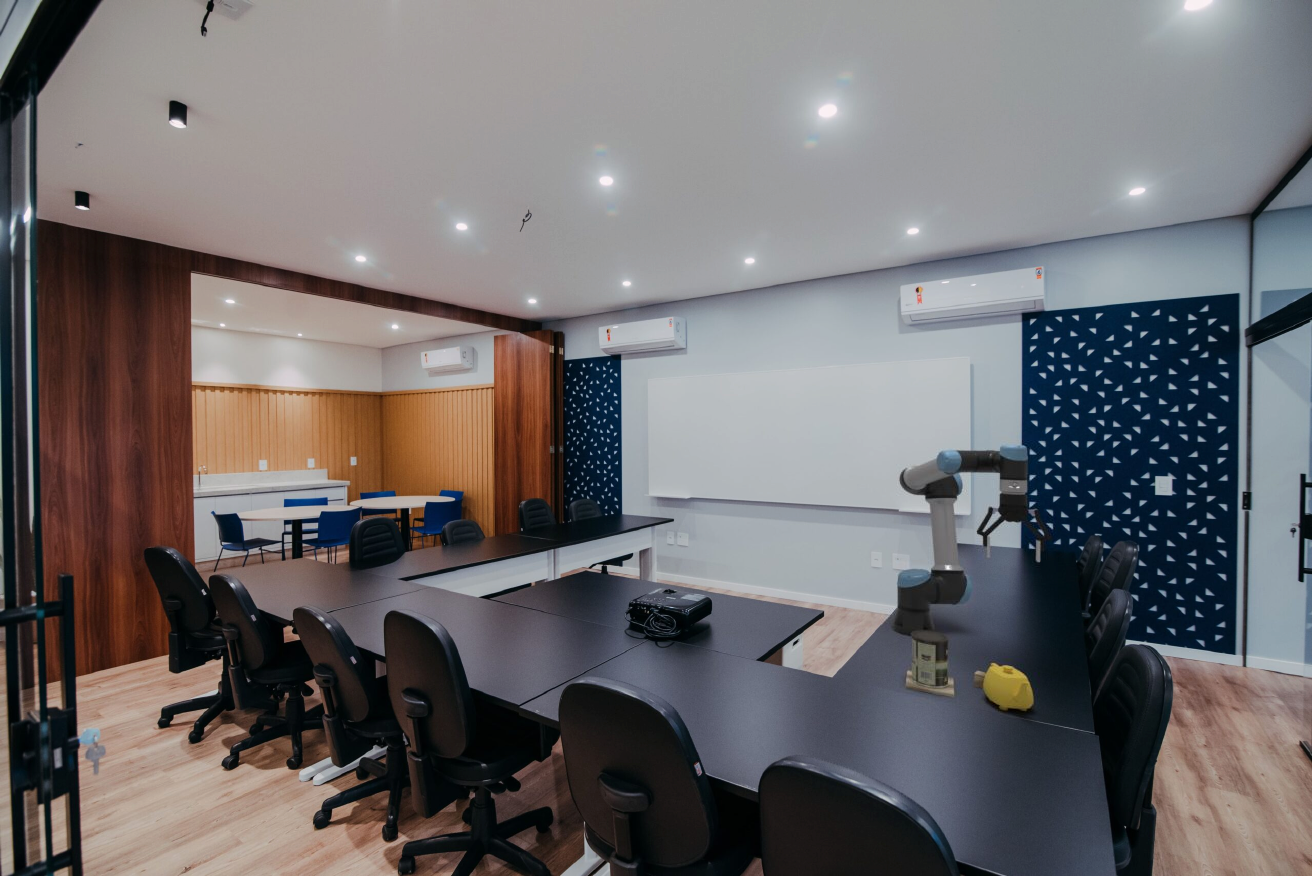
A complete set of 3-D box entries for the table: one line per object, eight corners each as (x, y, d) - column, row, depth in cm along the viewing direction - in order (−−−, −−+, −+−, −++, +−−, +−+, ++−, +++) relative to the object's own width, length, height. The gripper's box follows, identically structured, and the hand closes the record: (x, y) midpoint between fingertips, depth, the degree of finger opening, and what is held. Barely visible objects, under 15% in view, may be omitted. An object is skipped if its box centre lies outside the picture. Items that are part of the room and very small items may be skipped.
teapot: (1049, 722, 150) (1050, 681, 150) (1007, 720, 151) (1007, 680, 151) (1010, 691, 168) (1010, 655, 168) (972, 690, 169) (972, 654, 169)
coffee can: (942, 676, 177) (942, 631, 177) (952, 690, 167) (953, 642, 167) (907, 673, 179) (907, 628, 179) (915, 687, 169) (915, 640, 169)
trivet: (907, 672, 182) (907, 669, 182) (953, 680, 176) (953, 677, 176) (905, 688, 170) (905, 685, 170) (954, 697, 164) (954, 694, 164)
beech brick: (974, 686, 172) (974, 673, 172) (977, 683, 174) (977, 670, 174) (996, 692, 168) (996, 679, 168) (999, 689, 170) (999, 676, 170)
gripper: (969, 492, 184) (968, 557, 184) (1062, 496, 173) (1062, 565, 173) (968, 490, 191) (967, 553, 191) (1058, 494, 179) (1057, 560, 179)
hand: (1012, 559), depth 182 cm, fingers open, 13 cm apart
